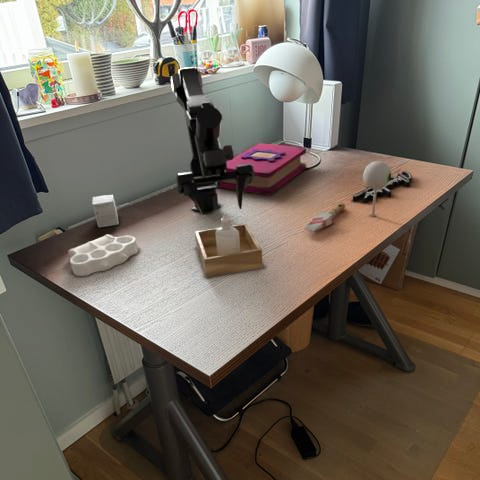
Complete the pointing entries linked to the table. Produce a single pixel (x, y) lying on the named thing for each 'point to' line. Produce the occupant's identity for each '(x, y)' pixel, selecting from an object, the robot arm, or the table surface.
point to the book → (267, 167)
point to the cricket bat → (323, 218)
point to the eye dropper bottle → (227, 237)
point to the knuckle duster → (101, 254)
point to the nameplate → (394, 182)
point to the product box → (105, 210)
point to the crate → (228, 262)
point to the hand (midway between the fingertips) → (222, 211)
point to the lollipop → (376, 178)
